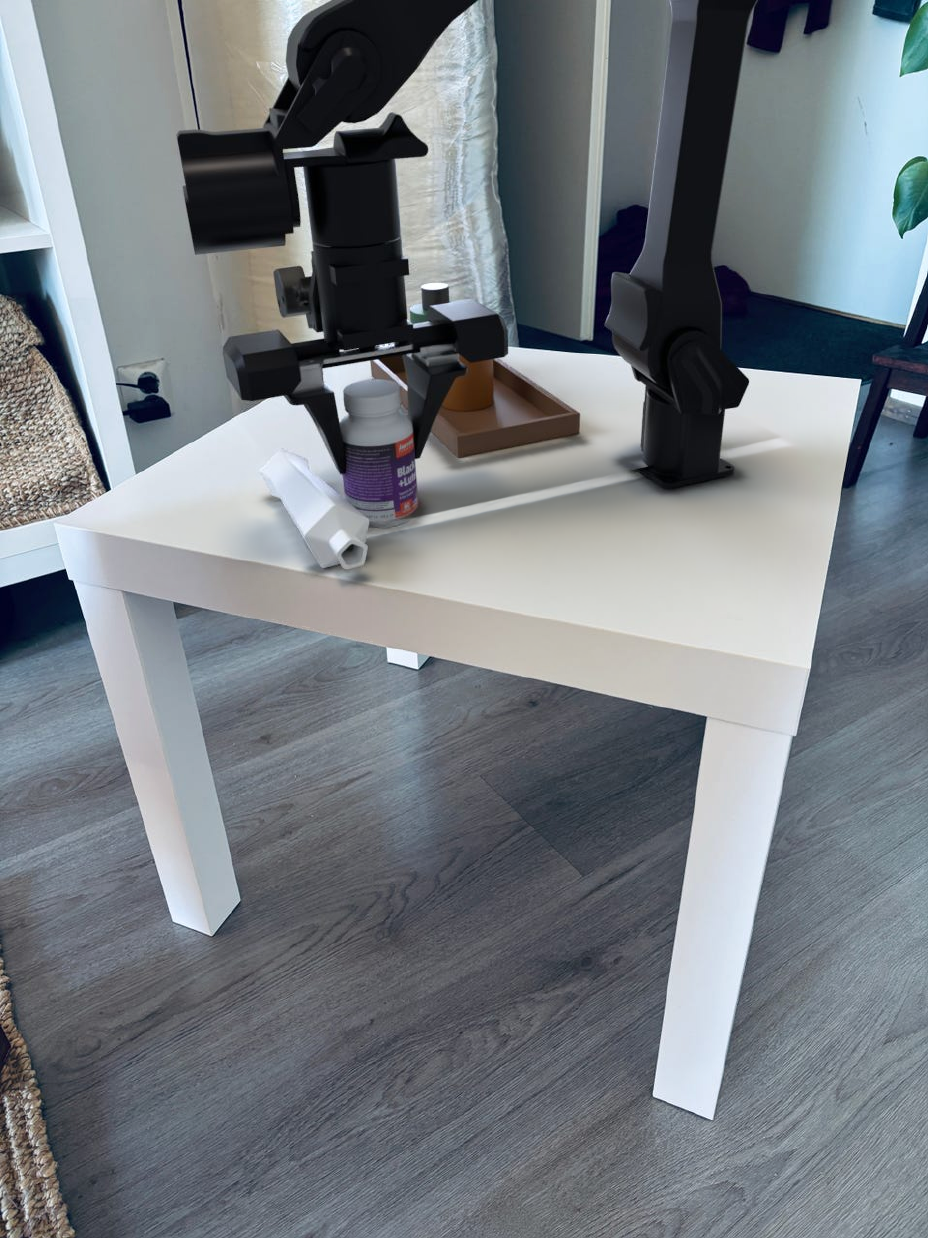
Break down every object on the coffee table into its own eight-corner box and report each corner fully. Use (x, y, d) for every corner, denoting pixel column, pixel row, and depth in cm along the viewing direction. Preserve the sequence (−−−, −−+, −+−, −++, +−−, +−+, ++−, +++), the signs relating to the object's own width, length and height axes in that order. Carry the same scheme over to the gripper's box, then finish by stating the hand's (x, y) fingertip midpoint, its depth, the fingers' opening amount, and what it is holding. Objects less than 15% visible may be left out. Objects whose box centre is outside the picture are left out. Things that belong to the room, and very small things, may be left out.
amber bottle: (502, 405, 88) (500, 305, 83) (452, 415, 86) (447, 314, 82) (481, 389, 92) (478, 292, 87) (432, 398, 90) (426, 300, 85)
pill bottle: (416, 529, 70) (406, 400, 64) (342, 531, 70) (326, 402, 65) (421, 497, 74) (412, 373, 69) (352, 498, 74) (338, 376, 69)
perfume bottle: (323, 481, 76) (396, 562, 64) (275, 509, 75) (340, 596, 64) (299, 433, 73) (371, 509, 62) (248, 461, 72) (311, 543, 61)
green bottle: (472, 383, 93) (469, 288, 89) (424, 391, 92) (418, 295, 87) (453, 368, 97) (449, 276, 92) (407, 376, 96) (400, 283, 91)
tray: (579, 442, 82) (580, 412, 81) (458, 466, 79) (457, 436, 77) (474, 365, 100) (473, 340, 99) (372, 383, 97) (369, 357, 96)
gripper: (446, 203, 71) (456, 407, 79) (190, 234, 65) (230, 449, 73) (509, 229, 62) (513, 455, 70) (219, 267, 56) (261, 507, 65)
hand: (379, 464), depth 70 cm, fingers closed on pill bottle, 5 cm apart
